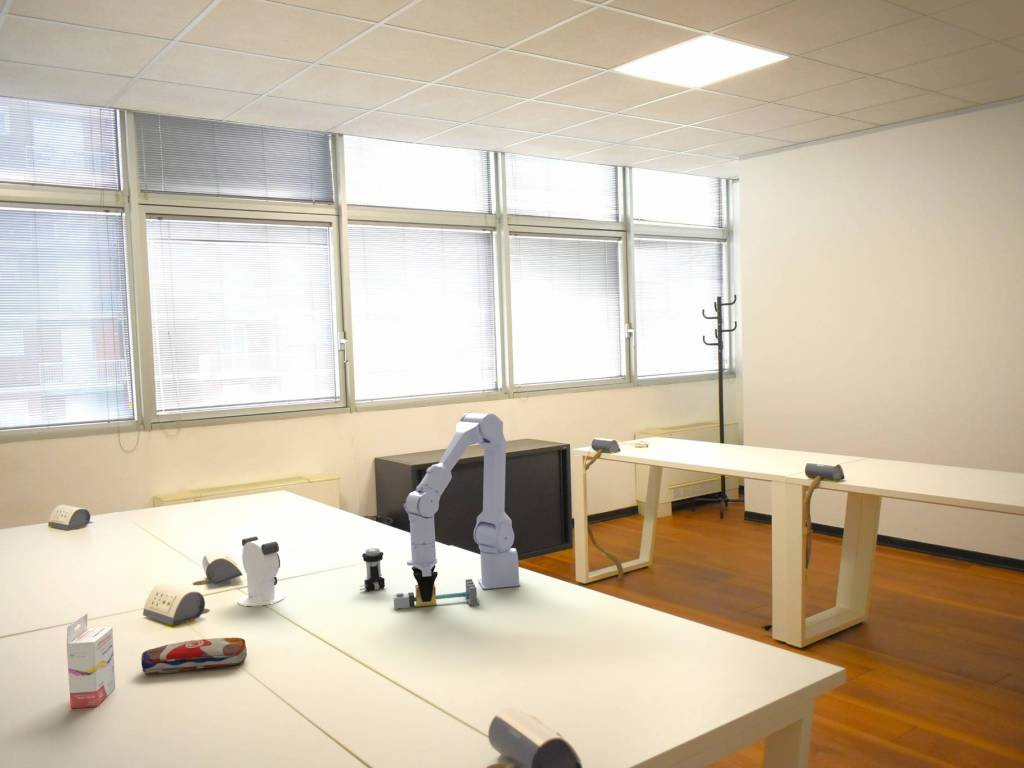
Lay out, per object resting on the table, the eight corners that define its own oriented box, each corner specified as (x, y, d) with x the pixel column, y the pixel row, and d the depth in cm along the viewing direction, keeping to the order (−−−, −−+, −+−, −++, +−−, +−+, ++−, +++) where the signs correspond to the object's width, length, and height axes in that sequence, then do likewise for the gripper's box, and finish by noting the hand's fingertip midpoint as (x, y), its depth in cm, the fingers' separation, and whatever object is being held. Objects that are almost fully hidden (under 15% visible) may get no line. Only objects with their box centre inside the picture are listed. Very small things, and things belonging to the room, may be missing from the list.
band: (413, 603, 200) (413, 592, 200) (414, 607, 198) (414, 595, 198) (408, 604, 200) (408, 592, 200) (409, 607, 198) (408, 596, 197)
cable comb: (473, 594, 206) (473, 577, 206) (479, 605, 197) (478, 588, 197) (464, 595, 206) (463, 578, 206) (469, 606, 197) (468, 589, 197)
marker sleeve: (434, 600, 202) (434, 583, 202) (436, 604, 198) (435, 587, 198) (416, 602, 201) (415, 585, 201) (417, 606, 198) (416, 589, 197)
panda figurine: (295, 598, 209) (292, 538, 208) (254, 610, 201) (250, 548, 200) (269, 590, 217) (266, 532, 217) (229, 601, 209) (225, 541, 208)
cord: (470, 595, 202) (470, 591, 202) (470, 596, 201) (470, 592, 201) (403, 601, 199) (403, 597, 199) (403, 603, 198) (403, 598, 198)
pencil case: (231, 678, 160) (229, 652, 159) (132, 679, 161) (130, 654, 161) (253, 657, 171) (252, 632, 170) (161, 658, 172) (159, 634, 172)
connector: (408, 604, 200) (408, 591, 200) (409, 607, 198) (408, 594, 197) (394, 605, 200) (393, 592, 199) (394, 609, 197) (393, 595, 197)
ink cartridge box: (98, 707, 149) (93, 625, 148) (69, 709, 148) (64, 627, 148) (117, 687, 157) (112, 610, 156) (90, 689, 157) (84, 612, 156)
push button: (364, 594, 210) (362, 554, 210) (355, 589, 214) (353, 551, 214) (388, 588, 214) (386, 550, 213) (379, 584, 218) (377, 546, 218)
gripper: (404, 536, 205) (407, 591, 206) (408, 550, 191) (410, 609, 192) (433, 534, 207) (435, 588, 207) (439, 548, 192) (441, 606, 193)
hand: (425, 598), depth 200 cm, fingers open, 4 cm apart
